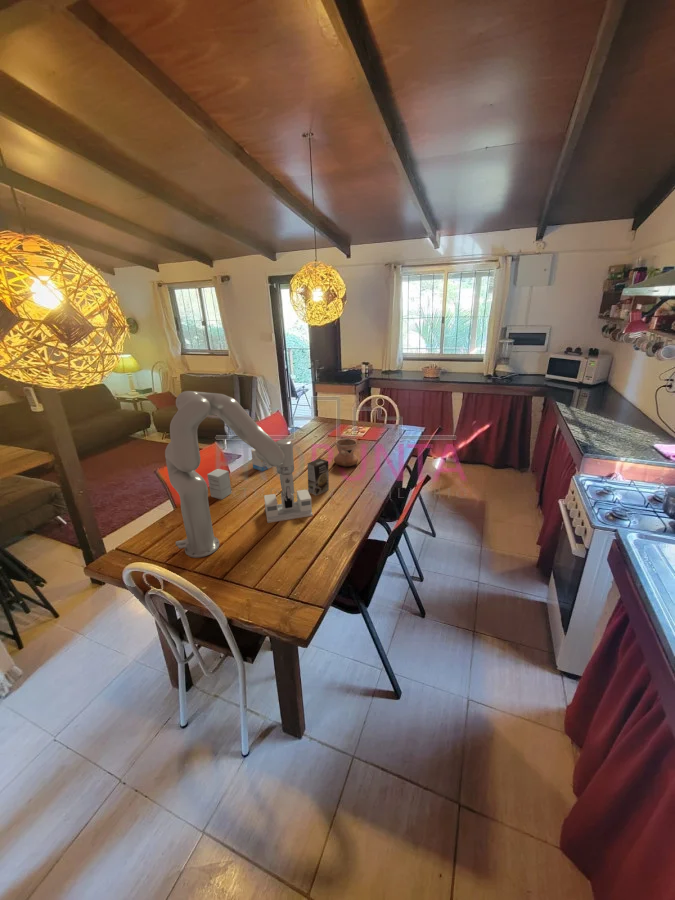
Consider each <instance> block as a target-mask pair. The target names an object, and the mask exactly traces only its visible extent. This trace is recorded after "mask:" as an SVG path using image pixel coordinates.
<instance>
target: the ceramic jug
mask: <svg viewBox="0 0 675 900" xmlns="http://www.w3.org/2000/svg"><path fill="white" fill-rule="evenodd" d="M335 444H336V450H337V451H338V453H337V454H336V455H334V457H333V461H334V463H335V464H336V465H338V466H340V467H353V466H355V465H357V463H358V462H359V458H358V456H357V455H356V454H354V452H355V450H356V448H357V444H358V442H357V441H356V440H355V439H351V438H341V439H338V440H336V441H335Z"/></svg>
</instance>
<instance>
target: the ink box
mask: <svg viewBox="0 0 675 900" xmlns="http://www.w3.org/2000/svg"><path fill="white" fill-rule="evenodd" d="M251 460H252V468H253V469H255V470H258V471H259V472H264V471H267V470H269V469H271V468H273V466H270V465H269V464H267V463H266V462H264V461H262V460H260V459H259V458H258V457H257V456H256V454H255V449H254V448H253V449H251Z"/></svg>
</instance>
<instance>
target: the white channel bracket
mask: <svg viewBox="0 0 675 900" xmlns="http://www.w3.org/2000/svg"><path fill="white" fill-rule="evenodd" d="M310 494H311V493H310V492H308V488H307V489H300V490H296V498H297V499H296V501H294V509H290V510H283V508H282V503H280V504H278V501H277V496H276V493H270V494H265V495H263V498H264V499H263V501H264V511H265V515H266V521H267V523H268V524H269V523H275V522H281V521H289V520H294V519H295V520H296V519H299V518H305V517H312V516H313V511H312V510H313V508H312V506H313V505H312V496H311V495H310Z"/></svg>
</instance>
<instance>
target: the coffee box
mask: <svg viewBox="0 0 675 900" xmlns="http://www.w3.org/2000/svg"><path fill="white" fill-rule="evenodd" d="M329 483H330V482H329V460H326V459H322V458H317V459H315V460H312V461H310V462H307V490H308V492H309V494H312V495H314V496H318V495H319V496H320V495H321V494H323V493H326V492H328V491H329V490H330V489H329V488H330V487H329V485H330V484H329Z"/></svg>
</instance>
